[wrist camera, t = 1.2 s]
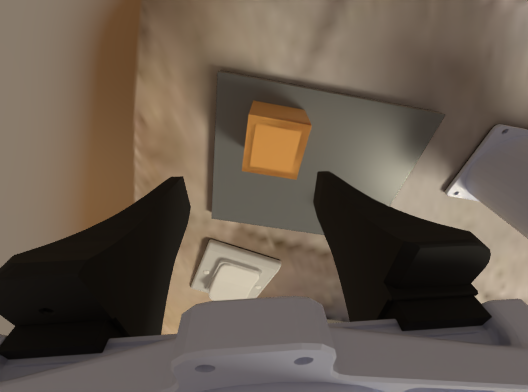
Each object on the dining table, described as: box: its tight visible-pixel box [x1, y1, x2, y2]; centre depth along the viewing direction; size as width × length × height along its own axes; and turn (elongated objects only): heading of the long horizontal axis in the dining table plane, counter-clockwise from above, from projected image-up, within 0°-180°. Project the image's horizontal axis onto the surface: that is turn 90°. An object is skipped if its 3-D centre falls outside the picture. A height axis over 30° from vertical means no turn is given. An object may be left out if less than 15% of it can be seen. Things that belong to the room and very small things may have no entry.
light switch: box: [191, 239, 281, 301], centre depth 34 cm, size 11×4×13 cm
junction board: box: [212, 70, 445, 235], centre depth 24 cm, size 20×16×1 cm
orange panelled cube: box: [242, 100, 312, 180], centre depth 19 cm, size 5×5×4 cm
